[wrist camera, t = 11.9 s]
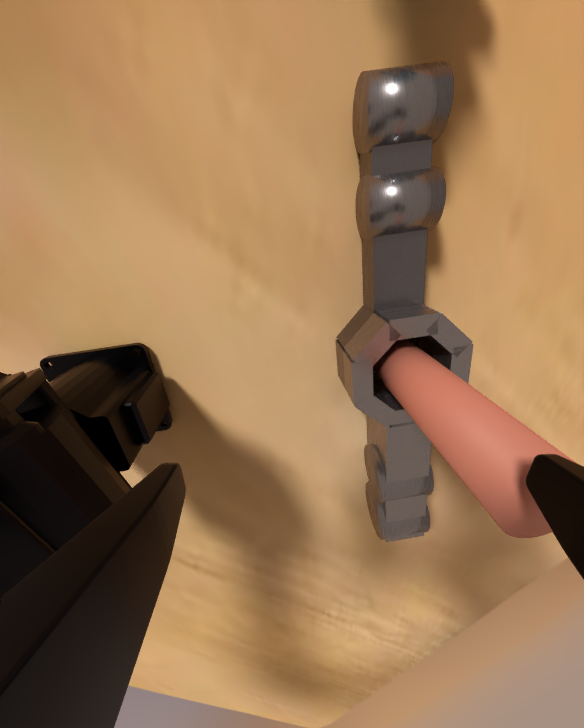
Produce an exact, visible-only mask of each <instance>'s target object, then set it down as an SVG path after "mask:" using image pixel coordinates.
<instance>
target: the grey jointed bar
mask: <svg viewBox="0 0 584 728" xmlns="http://www.w3.org/2000/svg"><path fill="white" fill-rule="evenodd" d="M453 89H454V81H453V73H452V69H451V67H450V65H449V64H448V63H447V62H445V61H442V62H434V63H426V64H418V65H410V66H402V67H394V68H386V69H378V70H370V71H363V72H362V73H361V74H360V76H359V78H358V81H357V85H356V89H355V95H354V102H353V136H354V143H355V147H356V149H357V151H358V153H359V165H360V181H359V184H358V188H357V194H356V221H357V227H358V231H359V234H360V236H361V237H362V268H363V303H364V306H362V308H361V309H360V310H359V311H358V312H357V313H356V315H355V316H354V317H353V318H352V319H351V321H350V322H349V323H348V324H347V325H346V327H345V328H344V329H343V330H342V331H341V332H340V334H339V335H338V336H337V339H338V340H336V352H337V366H338V376H339V378H340V380H341V381H342V383H343V385H344V387H345V389H346V391H347V393H348V395H349V396H350V398H351V400H352V402H353V404H354V406H355V407H356V408H358V409H359V410H361V411H362V412H364V413H365V414H367V441H368V445H366V446H365V449H364V457H365V465H366V471H367V475H368V479H369V482H368V483H366V499H367V504H368V509H369V513H370V517H371V520H372V523H373V526H374V529H375V531H376V533H377V535H378V537H379V538H380V539H381V540H382V539H385V541H386V542H389V541H395V540H400V539H406V538H412V537H418V536H423V535H424V532H427V531H428V530H429V528H430V517H429V511H428V507H427V503H426V502H427V495H430V494H431V493H432V491H433V487H434V481H433V473H432V469H431V465H430V453H431V441H430V440H429V439H428V438H427V436H426V435H425V434H424V433H423V432H422V430H421V429H420V428H419V427H418V425H417V424H416V423H415V422H414V420H413V419H412V418H411V417H410V415H409V414H408V413H407V412H406V410H405V409H404V408H403V407H402V405H401V404H400V403H399V402H398V401H397V399H396V398H395V397H394V396H393V394H392V393H391V392H390V391H389V389H388V388H387V387H386V386H385V384H384V383H383V382H382V381H381V380H378V381H373V366H374V364H375V363H376V362H377V361H378V360H379V359H380V358H381V357H382V356H383V355H384V354H385V352H386V351H387V350H388V349H389V348H390V347H391V346H392V345H393V344H394V343H395V342H396V340H402V339H409V338H415V337H418V347H419V348H420V349H421V350H423V351H424V352H425V353H427V354H428V355H430V356H431V357H432V358H434V359H435V360H436V361H438V362H439V363H440V364H442V365H443V366H445V367H446V368H447V369H449V370H450V371H451V372H453V373H454V374H455V375H457V376H458V377H460V378H461V379H462V380H464V381H465V382H466V383H468V381H469V374H470V366H471V358H472V351H473V344H472V341H471V340H470V339H469V338H468V337H467V336H466V335H465V334H464V333H463V332H462V331H460V330H459V329H458V328H457V327H456V326H455V325H454V324H453V323H452V322H451V321H450V320H449V319H447V318H446V317H445V316H444V315H443V314H442V313H440V312H437V311H435V310H433V309H431V308H428V307H426V306H424V305H423V303H424V285H425V266H426V248H427V231H428V230H432V229H433V228H434V227H435V226H436V225H437V224H438V222H439V220H440V218H441V216H442V213H443V209H444V205H445V197H446V186H445V179H444V176H443V173H442V172H441V170H440V169H439V168H438V167H434V166H433V167H431V157H432V144H433V143H434V142H436V141H437V140H438V138H439V137H440V136H441V134H442V132H443V130H444V128H445V126H446V123H447V121H448V117H449V114H450V110H451V105H452V100H453Z"/></svg>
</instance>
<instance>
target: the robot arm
mask: <svg viewBox="0 0 584 728" xmlns="http://www.w3.org/2000/svg"><path fill="white" fill-rule="evenodd" d="M135 349H139V350H140V351H141V354H138V353H137V352H136V350H135ZM49 362H50V363H52V364H53V367H52V366H50V365H49ZM40 366H41V368H42V370H43V371H42V370H41V369H40V368H38V369H35V370H32V371H30V372H27V373H24V372H20V373H16V374H13V375H11V374H8V375H7V374H4V373H1V372H0V728H114V726H115V723H116V720H117V717H118V714H119V711H120V708H121V705H122V702H123V699H124V696H125V693H126V690H127V687H128V684H129V681H130V678H131V675H132V673H133V670H134V667H135V664H136V661H137V658H138V655H139V652H140V649H141V646H142V643H143V640H144V637H145V634H146V631H147V628H148V625H149V622H150V619H151V616H152V613H153V610H154V607H155V604H156V601H157V598H158V595H159V592H160V590H161V587H162V584H163V581H164V578H165V575H166V572H167V569H168V565H169V562H170V559H171V555H172V551H173V546H174V542H175V538H176V533H177V529H178V525H179V520H180V516H181V512H182V507H183V503H184V498H185V491H186V489H185V483H184V479H183V474H182V470H181V466H180V465H179V464H178V463H164V464H161V465H160V466H158V467H157V468H156V469H155V470H153V471H152V472H151V473H150V474H149V475H147V476H146V477H145V478H144V479H143V480H141V481H140V482H139V483H138V484H137V485H135V486H134V487H133V488H132V487H131V486H130V485H129V484H128V482H127V481H126V480H125V479H124V477H123V476H122V475H121V474H120V472H121V471H126V470H129V468H130V467H131V465H132V463H133V461H134V460H135V458H136V456H137V454H138V453H139V451H140V449H141V447H142V445H144V444H148V443H149V442H150V441H151V439H152V437H153V436H154V434H155V432H156V431H162V430H167V429H169V428H170V427H171V425H172V422H173V421H172V417H171V415H170V412H169V409H168V408H169V406H170V403H169V400H168V397H167V394H166V391H165V388H164V386H163V383H162V380H161V377H160V374H159V373H157V372H156V371H155V369H154V366H153V363H152V361H151V358H150V355H149V352H148V349H147V347H146V346H145V345H144V344H141V343H133V344H126V345H119V346H113V347H106V348H99V349H93V350H86V351H79V352H73V353H66V354H59V355H53V356H48V357H46V358H44V359H42V360H41V361H40ZM43 372H44V373H43ZM46 379H47V380H48V382H49V383H48V382H47V381H46ZM162 421H165V422H167V424H164V423H163V422H162ZM525 481H526V486H527V488H528V490H529V492H530V493H531V495H532V497H533V499H534V500H535V502H536V504H537V506H538V507H539V509H540V511H541V512H542V514H543V516H544V518H545V519H546V521H547V523H548V525H549V526H550V528H551V530H552V531H553V533H554V535H555V537H556V538H557V540H558V542H559V543H560V545H561V547H562V548H563V550H564V551H565V553H566V554H567V556H568V557H569V559H570V560H571V562H572V563H573V565H574V566H575V568H576V569H577V571H578V572H579V573H580V575H581V576H582V578H583V579H584V467H583V466H581V465H579V464H577V463H575V462H572V461H570V460H568V459H566V458H564V457H562V456H559V455H556V454H539V455H537V456H535V457H534V459H533V462H532V464H531V466H530V469H529V471H528V473H527V476H526V480H525Z"/></svg>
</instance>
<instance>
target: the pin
mask: <svg viewBox="0 0 584 728" xmlns="http://www.w3.org/2000/svg"><path fill="white" fill-rule="evenodd" d="M373 371H374V372H375V373H376V374H377V376H378V377H379V378H380V379H381V381H382V382H383V383H384V384H385V386H386V387H387V388H388V389H389V391H390V392H391V393H392V394H393V396H394V397H395V398H396V399H397V401H398V402H399V403H400V404H401V405H402V407H403V408H404V409H405V410H406V412H407V413H408V414H409V415H410V417H411V418H412V419H413V420H414V422H415V423H416V424H417V425H418V427H419V428H420V429H421V430H422V432H423V433H424V434H425V435H426V436H427V438H428V439H429V440H430V441H431V443H432V444H433V445H434V446H435V448H436V449H437V450H438V451H439V453H440V454H441V455H442V456H443V458H444V459H445V460H446V461H447V463H448V464H449V465H450V466H451V467H452V469H453V470H454V471H455V472H456V474H457V475H458V476H459V477H460V479H461V480H462V481H463V482H464V484H465V485H466V486H467V487H468V489H469V490H470V491H471V492H472V494H473V495H474V496H475V497H476V498H477V500H478V501H479V502H480V503H481V505H482V506H483V507H484V508H485V510H486V511H487V512H488V513H489V515H490V516H491V517H492V518H493V520H494V521H495V522H496V523H497V525H498V526H499V527H500V528H501V529H502V531H504V532H505V533H506V534H508V535H510V536H513V537H518V538H531V537H537V536H542V535H545V534H548V533H551V532H553V531H552V530H551V528H550V526H549V525H548V523H547V521H546V519H545V518H544V516H543V514H542V512H541V511H540V509H539V507H538V506H537V504H536V502H535V500H534V499H533V497H532V495H531V493H530V492H529V490H528V488H527V486H526V481H525V480H526V476H527V473H528V471H529V469H530V466H531V464H532V462H533V459H534V457H535V456H537V455H539V454H556V455H559V456H562V457H564V458H566V459H568V460H570V461H572V462H574V461H573V460H572V459H570V458H569V457H568V456H566V455H565V454H563V453H562V452H561V451H559V450H558V449H557V448H555V447H554V446H553V445H551V444H550V443H548V442H547V441H546V440H544V439H543V438H542V437H540V436H539V435H538V434H536V433H535V432H533V431H532V430H531V429H529V428H528V427H527V426H525V425H524V424H522V423H521V422H520V421H518V420H517V419H516V418H514V417H513V416H512V415H510V414H509V413H507V412H506V411H505V410H503V409H502V408H501V407H499V406H498V405H496V404H495V403H494V402H492V401H491V400H490V399H488V398H487V397H486V396H484V395H483V394H481V393H480V392H479V391H477V390H476V389H475V388H473V387H472V386H471V385H469V384H468V383H466V382H465V381H464V380H462V379H461V378H460V377H458V376H457V375H455V374H454V373H453V372H451V371H450V370H449V369H447V368H446V367H445V366H443V365H442V364H440V363H439V362H438V361H436V360H435V359H434V358H432V357H431V356H430V355H428V354H427V353H425V352H424V351H423V350H421V349H420V348H419V347H417V346H416V345H414V344H413V343H412V342H410V341H409V340H408V339H402V340H396V342H395V343H394V344H393V345H392V346H391V347H390V348H389V349H388V350H387V351H386V352H385V354H384V355H383V356H382V357H381V358H380V359H379V360H378V361H377V362H376V363H375V364H374V366H373ZM575 463H576V462H575Z"/></svg>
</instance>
